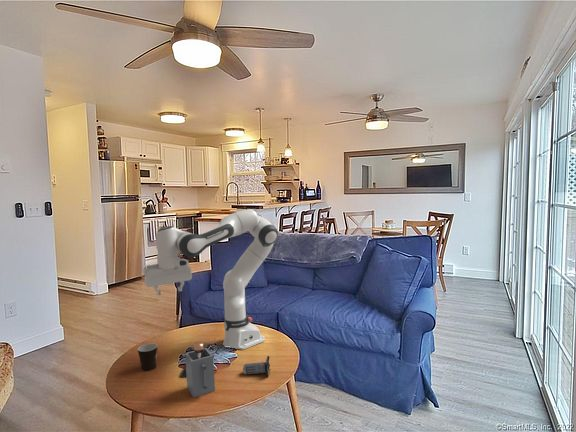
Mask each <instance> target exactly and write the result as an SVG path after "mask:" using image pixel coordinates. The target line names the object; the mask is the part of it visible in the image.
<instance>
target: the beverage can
mask: <svg viewBox="0 0 576 432" xmlns="http://www.w3.org/2000/svg"><path fill="white" fill-rule="evenodd" d="M270 371H271V365H270V355H268V356H267V357H266V359H265V361H264V362H251V363H244V365H243V368H242V372H243V374H244V375H257V374H266V377H267V378H269V376H270V375H271V373H270Z"/></svg>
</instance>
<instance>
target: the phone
mask: <svg viewBox="0 0 576 432" xmlns="http://www.w3.org/2000/svg"><path fill="white" fill-rule="evenodd" d="M179 377H180V378H186V379H187V375H186V365H184V367H183V369H182V371H181V373H180V375H179Z"/></svg>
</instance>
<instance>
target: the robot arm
mask: <svg viewBox="0 0 576 432" xmlns="http://www.w3.org/2000/svg"><path fill="white" fill-rule="evenodd" d="M247 232H249V234H250V235H251V236H252V237H253V238H254V239H253V240H252V242H251V243H250V244H249V246H247V248H246V249H245V251H244V252H243V254H242V255H241V256H240V257H239V259H238V260H237V261H236V263H235V264H234V266H233V268H232V269H230V270H228V271H227V272H226V273H225V275H224V277H223V283H222V288H223V294H224V300H223V301H224V302H223V303H224V304H223V305H224V318H223V320H224V322H223V326H224V327H223V328H224V338H223V342H222V345H224V346H230V347H233V348H235V349H234V350H241V351H242V350H245V349H249V348H251V347H253V346H255V345H258V344H260V343H264V342H265V341H266V340H265V339H266V338H265V336H264V335H263V334H261V331H260V329H259V327H257V326H256V325H254V324H253V323H251V322H253V317H250V316H248V315H247V314H246V293H245V292H246V291H245V290H246V289H245V288H246V287H247V286H248V284H249V282H251V279H252V278H253V276H254V274H255V273H256V271H257V270H258V269H259V267H260V266H261V265H262V264H263V263H264V261H265V260H266V259H267V257H268V256H269V254H270V253H271V251H272V249H273V247H274V243H275V242H276V241H277V239H278V236H279V231H278V229H277V228H276V227H275V226H274V225H273V224H272V223H271V221H269V220H268V219H266V218H264V217H263V216H262V215H261V214H259V213H257V212H256V211H255V210H254V209H251V208H249V209H243V210H238V211H235V212H232V213H230V214H228V215H226V216H225V217H223V218H221V220H220V221H219V225H218V226H217V227H214V228H212V229H210V230H207V231H205V232H203V233H200V234H196V233H192V232H188V231H186V230H185V231H184V230H181V229H179V228H177V227H176V226H174V225H168V226H164V227H163V226H162V227H160V228H159V229H158V230H157V231H156V236H155V237H156V239H155V243H156V247H155V248H156V249H157V254H156V259H157V260H156V261H157V263H155V264H151V265H150V264H148V265H146V266H145V267H144V268H143V275H144V285H145V286H146V287H147V288H149V287H153V289H154V290H155V291H156V296H161V295H162V293H161V292H162V291H161V290H160V289H158V288H159V287H158V286H162V285H163V286H164V285H167V284H175V283H180V285H179V286H177V291H178V292H182V291H183V287H184V286H185V282H188V281H191V280H192V279H193V274H192V268H191V266H190V265H189V264H190V263H189V262H190V261H189V260H188V259H185V258H183V257H179V254H180V253H182V255H184V256H185V257H187V258H195V257H199V255H200V254H202V252H204V251H205V250H206V249H207V248H208V247H211V246H214V245H215V244H217V243H219V242H222V241H224V240H226V239H230V238H235V237H238V236H240V235H242V234H245V233H247ZM224 346H223V347H224Z"/></svg>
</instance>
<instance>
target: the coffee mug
mask: <svg viewBox="0 0 576 432" xmlns="http://www.w3.org/2000/svg"><path fill="white" fill-rule="evenodd" d="M137 353H138V357H139V362H140V368H141V369H140V370H141V371H142V370H143V372H151V371H153V370H155V369H156V367H157V356H158V344H157V343H154V342H151V343H145V344H142V345H140V346H138V348H137Z"/></svg>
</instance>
